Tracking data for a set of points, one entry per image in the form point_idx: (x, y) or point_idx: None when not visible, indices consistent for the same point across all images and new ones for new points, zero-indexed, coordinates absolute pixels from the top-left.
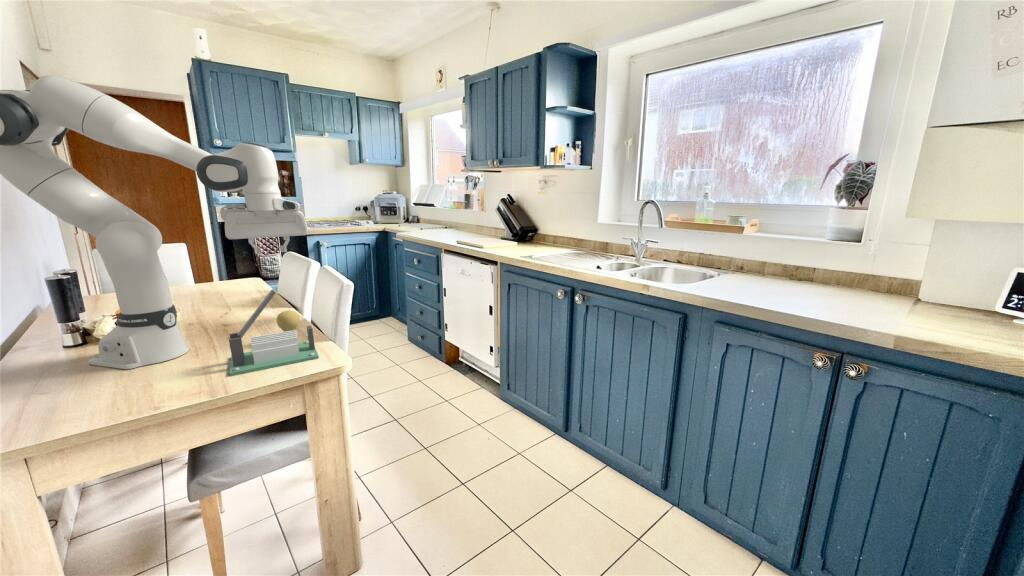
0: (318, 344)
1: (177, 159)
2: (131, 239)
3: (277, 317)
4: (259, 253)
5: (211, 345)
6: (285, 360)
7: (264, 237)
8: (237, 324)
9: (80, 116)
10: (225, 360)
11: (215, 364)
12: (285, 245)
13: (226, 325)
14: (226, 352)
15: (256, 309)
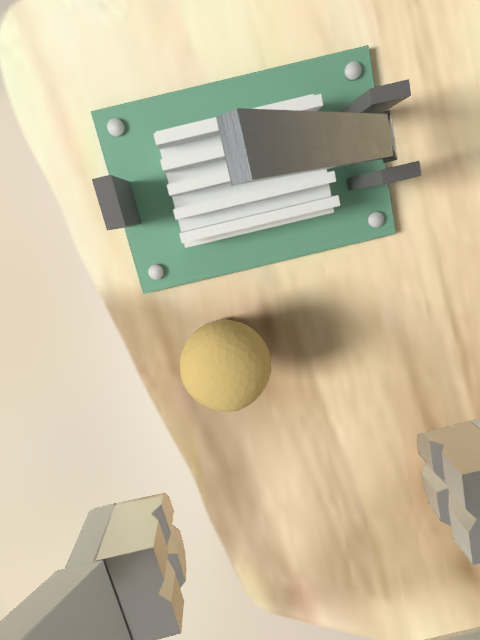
0: (119, 267)
1: None
2: None
3: (265, 357)
4: (438, 429)
5: (474, 377)
6: (203, 105)
7: (477, 635)
8: (432, 567)
9: None
10: (406, 212)
11: (429, 185)
12: (71, 572)
13: (464, 566)
14: (417, 291)
15: (331, 164)
